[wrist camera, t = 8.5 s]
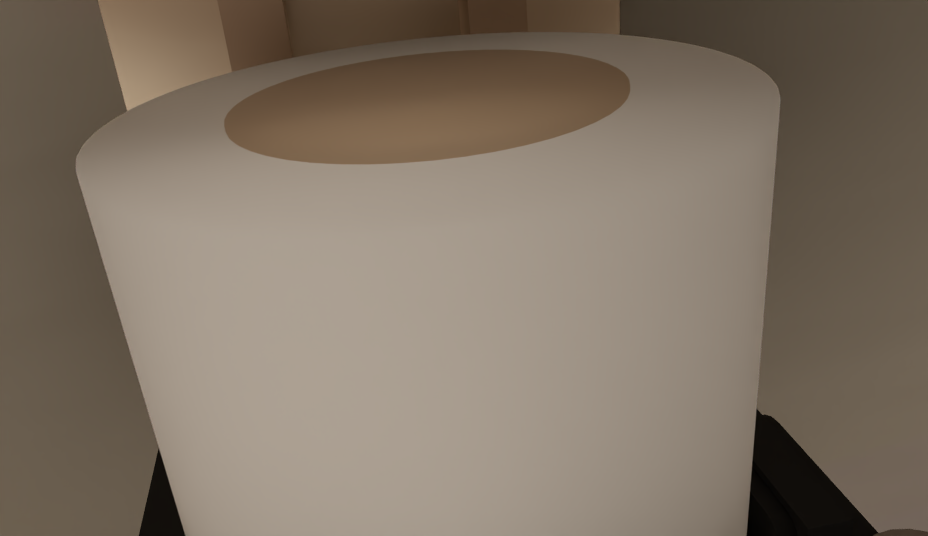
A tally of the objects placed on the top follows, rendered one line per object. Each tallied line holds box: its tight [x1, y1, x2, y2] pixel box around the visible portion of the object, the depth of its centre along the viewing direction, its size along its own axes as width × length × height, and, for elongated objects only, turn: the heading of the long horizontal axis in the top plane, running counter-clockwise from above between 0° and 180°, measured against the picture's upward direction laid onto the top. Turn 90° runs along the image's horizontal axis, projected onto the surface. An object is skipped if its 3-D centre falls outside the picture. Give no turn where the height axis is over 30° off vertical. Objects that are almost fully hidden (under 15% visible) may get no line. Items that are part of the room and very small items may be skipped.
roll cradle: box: [98, 0, 620, 111], centre depth 15 cm, size 20×9×7 cm, turn 5°
